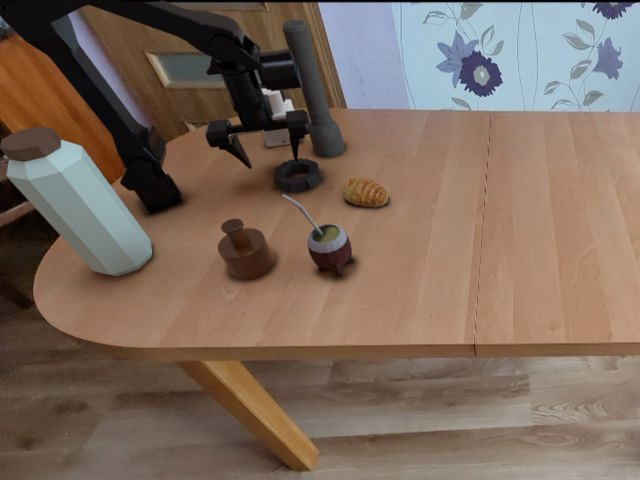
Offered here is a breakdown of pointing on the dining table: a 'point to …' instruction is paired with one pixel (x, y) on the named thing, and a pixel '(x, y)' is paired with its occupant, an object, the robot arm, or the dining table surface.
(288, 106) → the container
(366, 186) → the pastry
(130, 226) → the water bottle
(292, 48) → the flashlight
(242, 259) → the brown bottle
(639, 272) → the dining table surface
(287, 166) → the black octagonal ring
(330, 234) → the mate gourd
